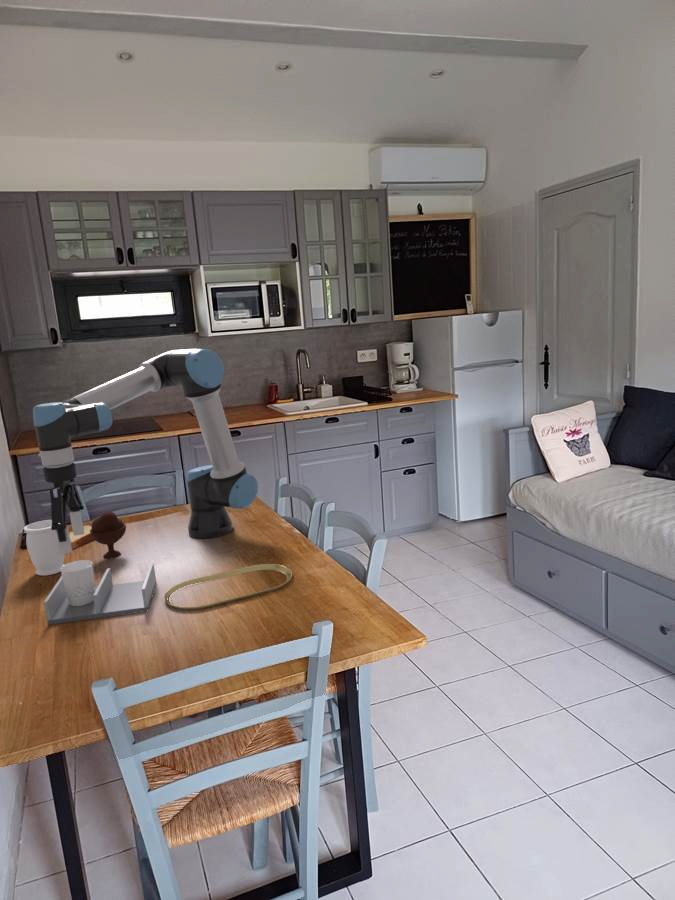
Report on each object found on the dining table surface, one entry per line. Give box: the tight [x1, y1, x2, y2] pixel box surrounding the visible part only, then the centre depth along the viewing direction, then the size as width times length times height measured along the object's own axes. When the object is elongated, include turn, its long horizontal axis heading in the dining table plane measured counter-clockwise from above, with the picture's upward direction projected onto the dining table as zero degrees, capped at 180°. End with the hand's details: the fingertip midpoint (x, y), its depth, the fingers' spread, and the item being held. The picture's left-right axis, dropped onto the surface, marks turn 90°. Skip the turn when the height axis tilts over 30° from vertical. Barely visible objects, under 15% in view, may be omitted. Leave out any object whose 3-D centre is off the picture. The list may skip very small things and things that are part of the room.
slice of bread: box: [69, 524, 95, 550], centre depth 222 cm, size 18×18×4 cm
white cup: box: [60, 559, 96, 606], centre depth 166 cm, size 8×8×10 cm
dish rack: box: [43, 562, 157, 626], centre depth 167 cm, size 24×18×6 cm
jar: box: [23, 519, 66, 577], centre depth 192 cm, size 11×10×15 cm
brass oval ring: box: [164, 563, 293, 610], centre depth 172 cm, size 19×35×2 cm, turn 115°
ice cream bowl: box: [90, 511, 127, 560], centre depth 202 cm, size 11×11×15 cm
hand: (73, 543), depth 164 cm, fingers open, 13 cm apart
